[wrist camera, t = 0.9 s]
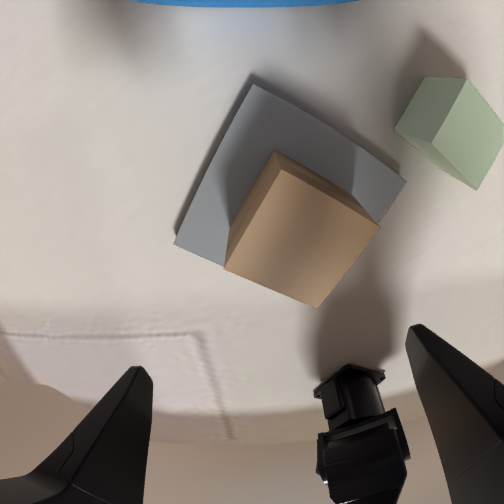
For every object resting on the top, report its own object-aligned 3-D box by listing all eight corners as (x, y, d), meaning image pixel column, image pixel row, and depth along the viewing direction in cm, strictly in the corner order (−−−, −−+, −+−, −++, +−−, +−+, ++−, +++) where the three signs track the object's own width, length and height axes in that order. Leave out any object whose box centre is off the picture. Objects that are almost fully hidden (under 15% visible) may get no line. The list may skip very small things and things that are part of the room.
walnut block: (352, 194, 19) (380, 227, 14) (304, 262, 21) (316, 308, 17) (273, 149, 17) (281, 169, 13) (229, 227, 20) (223, 268, 16)
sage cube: (466, 118, 16) (509, 132, 12) (437, 167, 19) (476, 190, 14) (424, 76, 15) (467, 78, 11) (393, 129, 17) (430, 143, 13)
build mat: (400, 177, 19) (406, 181, 18) (312, 297, 24) (314, 305, 23) (252, 84, 16) (253, 83, 15) (176, 237, 21) (173, 244, 21)
